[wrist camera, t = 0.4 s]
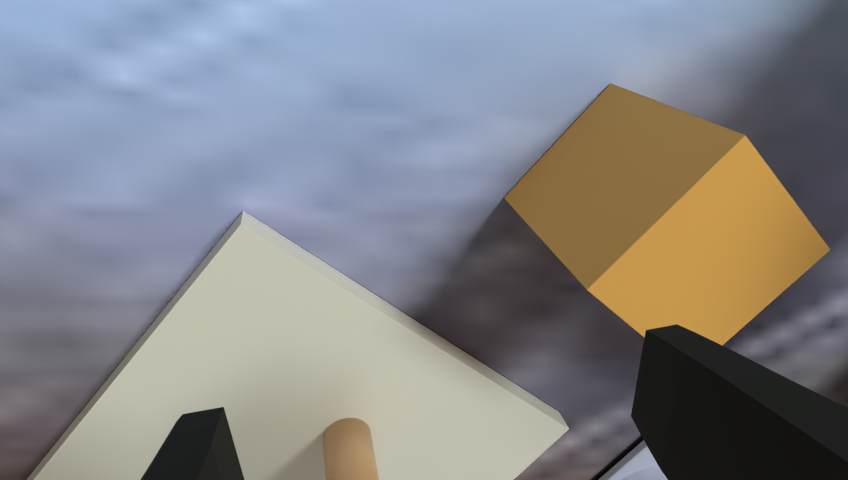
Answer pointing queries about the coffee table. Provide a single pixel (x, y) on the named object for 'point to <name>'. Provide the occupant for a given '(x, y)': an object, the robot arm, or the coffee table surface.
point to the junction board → (303, 382)
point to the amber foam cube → (667, 217)
